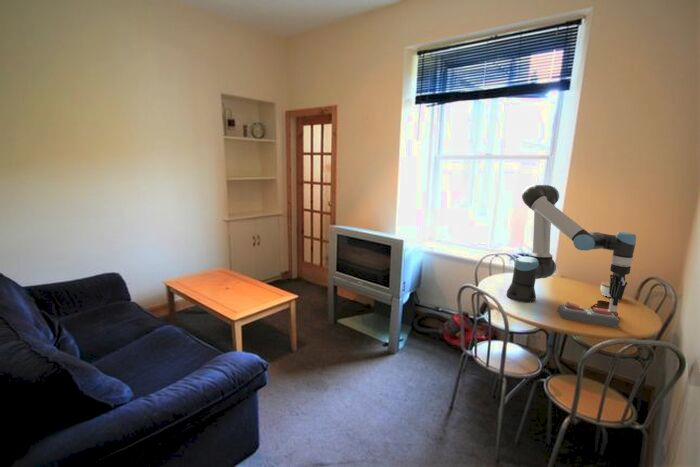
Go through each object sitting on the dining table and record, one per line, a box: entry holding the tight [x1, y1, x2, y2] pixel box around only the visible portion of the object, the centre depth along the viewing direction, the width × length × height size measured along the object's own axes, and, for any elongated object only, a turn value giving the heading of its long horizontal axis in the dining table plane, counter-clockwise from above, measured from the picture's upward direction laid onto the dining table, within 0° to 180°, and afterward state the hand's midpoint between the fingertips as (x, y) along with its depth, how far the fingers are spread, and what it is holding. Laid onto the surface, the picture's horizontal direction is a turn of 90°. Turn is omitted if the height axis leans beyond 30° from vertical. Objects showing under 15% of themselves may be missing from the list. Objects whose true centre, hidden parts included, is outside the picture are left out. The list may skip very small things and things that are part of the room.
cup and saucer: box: [590, 299, 619, 317], centre depth 180 cm, size 12×12×6 cm
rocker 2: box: [593, 307, 612, 315], centre depth 170 cm, size 7×4×1 cm, turn 72°
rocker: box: [565, 301, 584, 311], centre depth 173 cm, size 7×4×1 cm, turn 72°
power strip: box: [557, 303, 620, 329], centre depth 172 cm, size 24×9×5 cm, turn 72°
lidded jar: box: [600, 281, 611, 298], centre depth 206 cm, size 11×11×9 cm
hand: (612, 310), depth 168 cm, fingers closed, pressing on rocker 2
